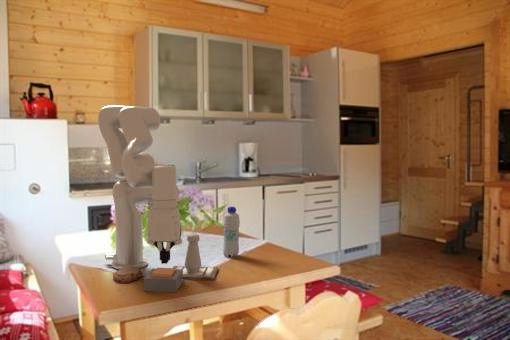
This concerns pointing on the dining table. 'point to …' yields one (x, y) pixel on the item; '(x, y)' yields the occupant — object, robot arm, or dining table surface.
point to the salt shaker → (193, 254)
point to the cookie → (127, 275)
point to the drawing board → (199, 273)
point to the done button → (164, 272)
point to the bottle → (231, 233)
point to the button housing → (163, 282)
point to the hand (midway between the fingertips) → (165, 262)
